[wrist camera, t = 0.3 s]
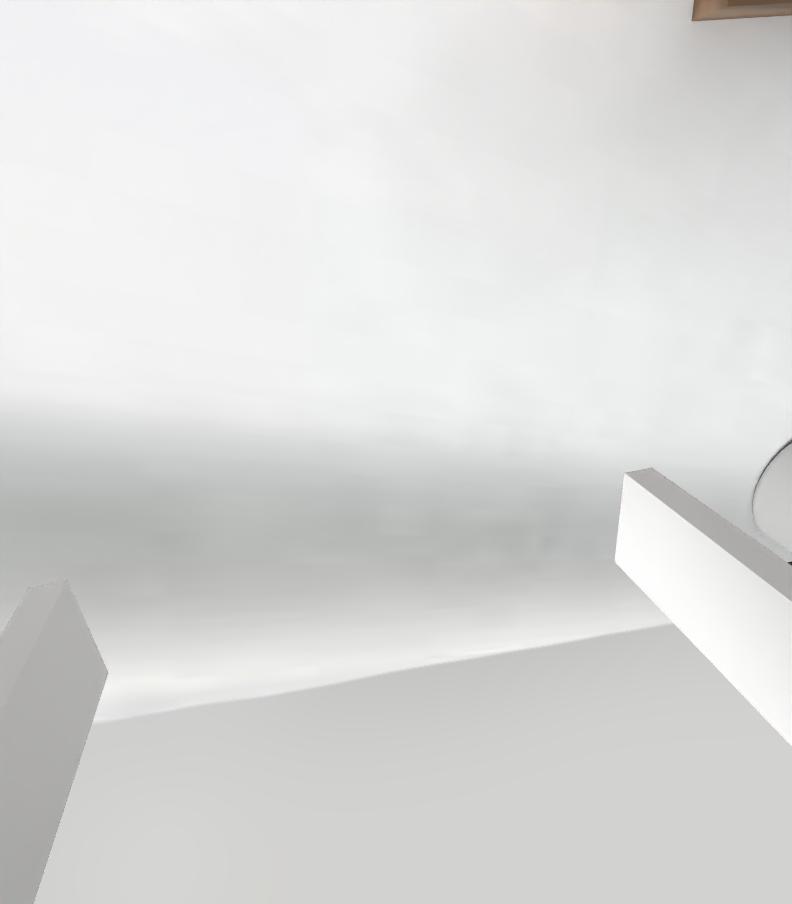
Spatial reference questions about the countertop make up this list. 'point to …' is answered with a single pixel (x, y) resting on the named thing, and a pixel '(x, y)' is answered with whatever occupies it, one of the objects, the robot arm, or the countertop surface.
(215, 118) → the countertop surface
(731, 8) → the walnut frame
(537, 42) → the countertop surface
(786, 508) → the cylinder vase
